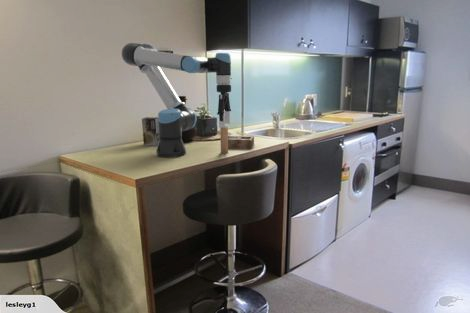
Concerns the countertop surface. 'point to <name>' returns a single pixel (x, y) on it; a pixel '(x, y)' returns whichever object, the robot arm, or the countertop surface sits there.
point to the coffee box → (150, 131)
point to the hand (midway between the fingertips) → (224, 125)
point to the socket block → (241, 142)
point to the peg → (224, 139)
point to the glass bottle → (191, 132)
